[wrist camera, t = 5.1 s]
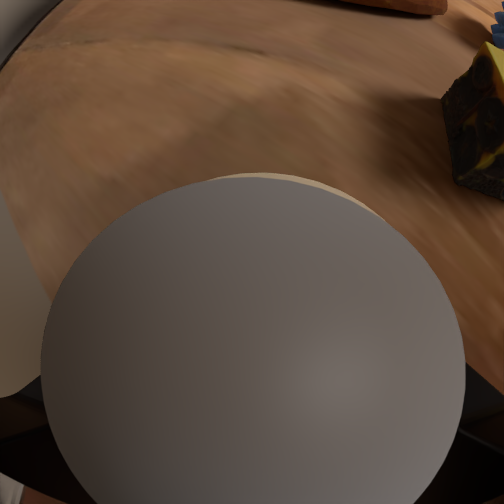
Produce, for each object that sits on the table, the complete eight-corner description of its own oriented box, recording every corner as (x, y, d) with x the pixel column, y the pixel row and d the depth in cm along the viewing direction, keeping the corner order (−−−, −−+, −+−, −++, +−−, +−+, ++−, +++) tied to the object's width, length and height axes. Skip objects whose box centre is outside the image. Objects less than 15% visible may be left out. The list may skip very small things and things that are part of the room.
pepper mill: (323, 366, 15) (477, 549, 1) (219, 373, 15) (57, 557, 2) (316, 264, 16) (481, 96, 2) (213, 272, 16) (2, 146, 2)
